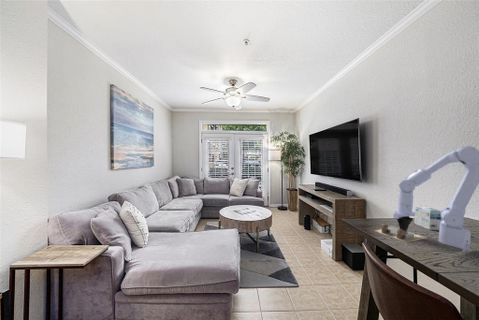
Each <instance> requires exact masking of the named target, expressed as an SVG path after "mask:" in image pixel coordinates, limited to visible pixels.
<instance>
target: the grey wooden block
mask: <svg viewBox="0 0 479 320" xmlns="http://www.w3.org/2000/svg"><path fill="white" fill-rule="evenodd" d="M397 229H400V227H395V226H392V225H390V226H388V231H387V233H388V234H391V235H394V236H397ZM414 234H415V232H411V231H408V230H407V231H405V230H404V237H403V239H409V238H414Z"/></svg>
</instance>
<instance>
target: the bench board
mask: <svg viewBox="0 0 479 320" xmlns="http://www.w3.org/2000/svg"><path fill="white" fill-rule="evenodd" d="M388 227H389V226H388V224H386V223H385V224H384V223H382V224H381V228H380V229H375V230H373V232H377V233H379V234H382V235H384V236H388V237H391V238H394V239H397V240H398V241H401V242H405V243H412V242H416V241H420V240H425V239H427V236H426V237H425V236H422V235H419V234H415V233H414V238H409V239H403V237H404V230H402V229H400V228H399V229H397V236H394V235H391V234H388V233H387V231H388Z"/></svg>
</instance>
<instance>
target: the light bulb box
mask: <svg viewBox="0 0 479 320" xmlns="http://www.w3.org/2000/svg"><path fill="white" fill-rule="evenodd" d="M442 211H443V210H440V209H437V208H433V207H428V206H424V205H415V209H414V212H415V216H414V219H413V220H414V221H413V224H414V223H415V225H417V226H419V227H422V228H424V229H427V230H430V231H431V230H432V231H433V230H434V231H439V230H440V222H441V221H442V220H443V219H442V218H441V215H440V214H441V212H442Z"/></svg>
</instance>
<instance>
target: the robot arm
mask: <svg viewBox="0 0 479 320" xmlns="http://www.w3.org/2000/svg"><path fill="white" fill-rule="evenodd" d="M458 162H459V163H461V164H462V165H463V167H464V168H465V169H466V172H465V173H464V176H463V177H462V179H461V181H460V183H459V186H458V187H457V189H456V191H455V194H454V195H453V197H452V199H451V201H450V202H449V204H447V206H446V207H445V209H442V210H441V211H442V212H441V214H440V215H441V218H442V221H441V222H440V230H438V231H439V232H438V233H439V234H438V242H439V243H441V244H444V245H447V246H451V247H454V248H457V249H461V250H459V252H465V251H467V250H470V249H471V238H472V235H471V231H470V230H469V229H466V228H464V226H463V225H464V224H465V219H464V218H465V214H466V208H467V206H468V204H469V203H470V201H471V199H472V196H473V195H474V193H475V191H476V190H477V187H478V186H479V150H478V149H477V148H476V147H474V146H471V145H469V146H468V145H465V146H461V147H457V148H456V149H454V150H453V151H450V152H448V153H446V154H445V155H443V156H442V157H440V158H438V159H437V160H436V161H435V162H433V163H432V164H430V165H429V166H427V167H425V168H418V169H415V170H414V172H413V173H412V174H410V175H408V176H405V177H404V179H402V180H401V181H400V182H399V183H398V187H399V191H398V192H399V193H398V196H397V197H398V199H397V210H395V211H394V213H393V215H392V216H393V218H394V219H396V220H397V223H398V226H399V227H398V228H399V229H402V230H405V231H408V228H409V226H410V224H411V223H412V221H413V220H414V218H413V217H415V211H413V203H414V190H415V189H416V187H419V186H421V185H422V184H424V183H425V182H427V181H428V180H429V179H431V178H432V174H433V173H435V172H437V171H439V170H441V169H442V168H444V167H446V166H447V165H449V164H453V163H458Z"/></svg>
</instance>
